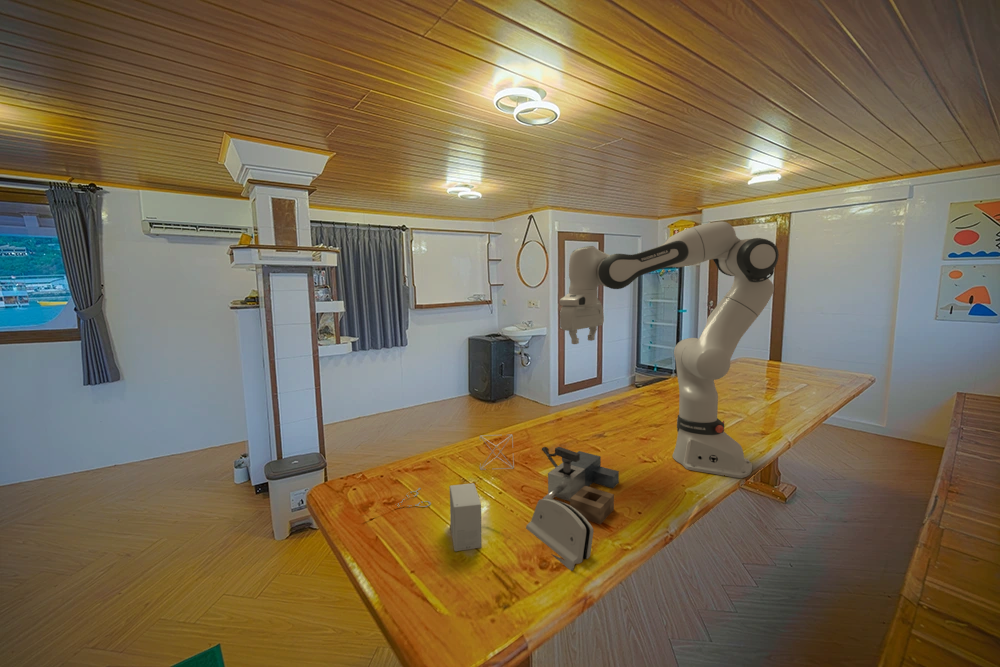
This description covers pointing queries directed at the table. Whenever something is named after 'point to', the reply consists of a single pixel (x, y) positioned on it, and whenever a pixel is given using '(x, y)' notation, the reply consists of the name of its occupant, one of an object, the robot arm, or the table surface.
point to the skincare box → (465, 517)
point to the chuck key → (567, 458)
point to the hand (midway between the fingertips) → (583, 342)
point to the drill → (580, 477)
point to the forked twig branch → (549, 456)
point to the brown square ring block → (593, 504)
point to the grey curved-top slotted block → (562, 531)
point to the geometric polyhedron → (499, 452)
